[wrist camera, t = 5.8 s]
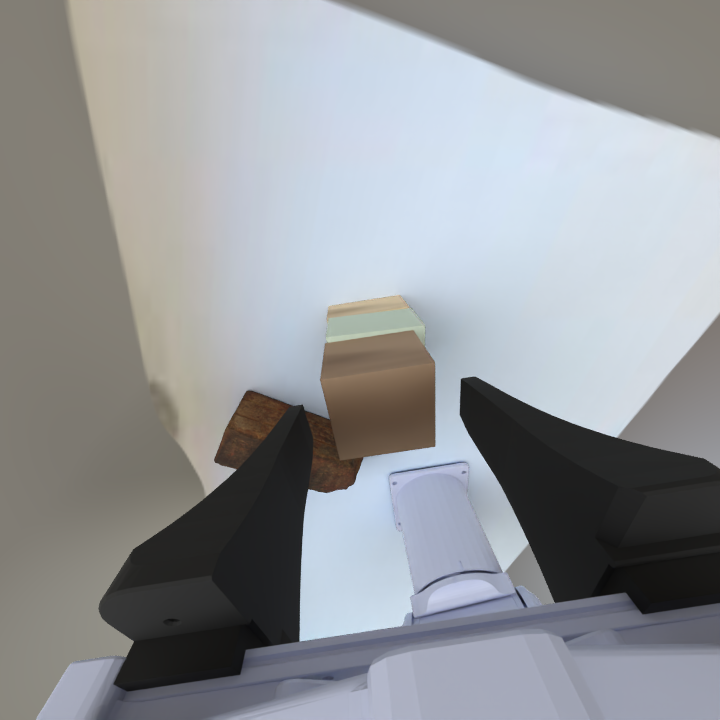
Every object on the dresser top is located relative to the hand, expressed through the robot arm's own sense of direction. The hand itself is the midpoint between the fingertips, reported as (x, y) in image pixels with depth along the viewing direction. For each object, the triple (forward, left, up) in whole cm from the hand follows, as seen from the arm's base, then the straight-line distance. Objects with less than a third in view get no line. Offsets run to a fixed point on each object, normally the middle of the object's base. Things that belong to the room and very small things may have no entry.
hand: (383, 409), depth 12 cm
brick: (-7, +7, -9) cm, 14 cm away
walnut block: (0, 0, -3) cm, 3 cm away
